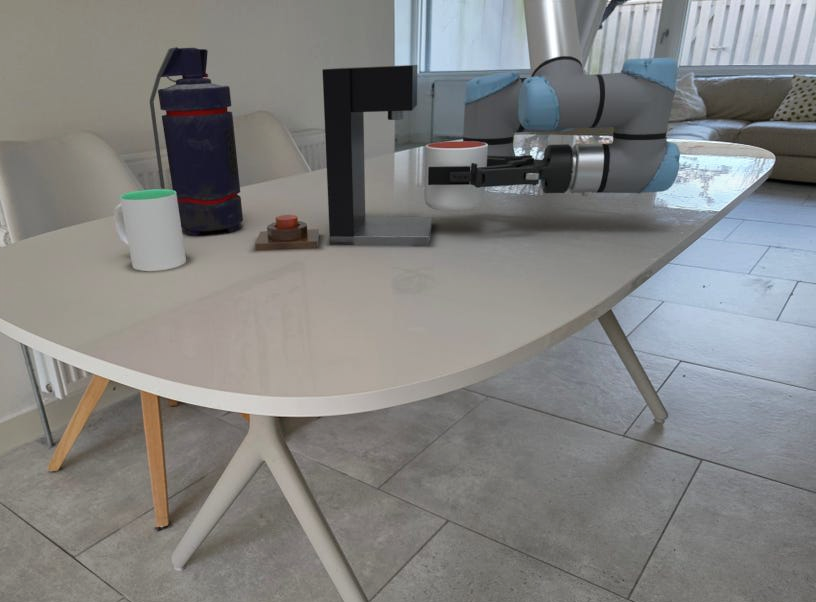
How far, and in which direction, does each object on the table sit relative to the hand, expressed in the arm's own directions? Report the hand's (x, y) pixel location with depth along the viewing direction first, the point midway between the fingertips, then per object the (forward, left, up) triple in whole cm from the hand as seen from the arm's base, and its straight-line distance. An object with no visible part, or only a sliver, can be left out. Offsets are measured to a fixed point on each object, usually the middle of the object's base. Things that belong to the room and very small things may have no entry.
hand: (429, 170), depth 103 cm
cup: (-4, +1, -6) cm, 7 cm away
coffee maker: (+8, +2, -10) cm, 13 cm away
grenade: (+40, -7, -10) cm, 42 cm away
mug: (+45, +13, -10) cm, 48 cm away
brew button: (+24, +5, -7) cm, 26 cm away
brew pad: (+24, +5, -10) cm, 27 cm away
